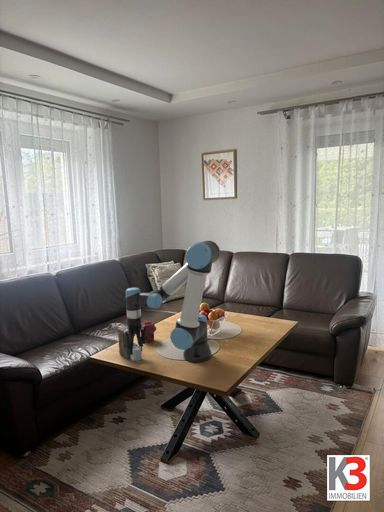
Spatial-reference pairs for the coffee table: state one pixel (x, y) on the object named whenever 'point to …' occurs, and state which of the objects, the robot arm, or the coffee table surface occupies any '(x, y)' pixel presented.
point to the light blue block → (136, 353)
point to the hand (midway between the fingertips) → (136, 358)
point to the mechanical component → (149, 330)
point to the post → (123, 342)
